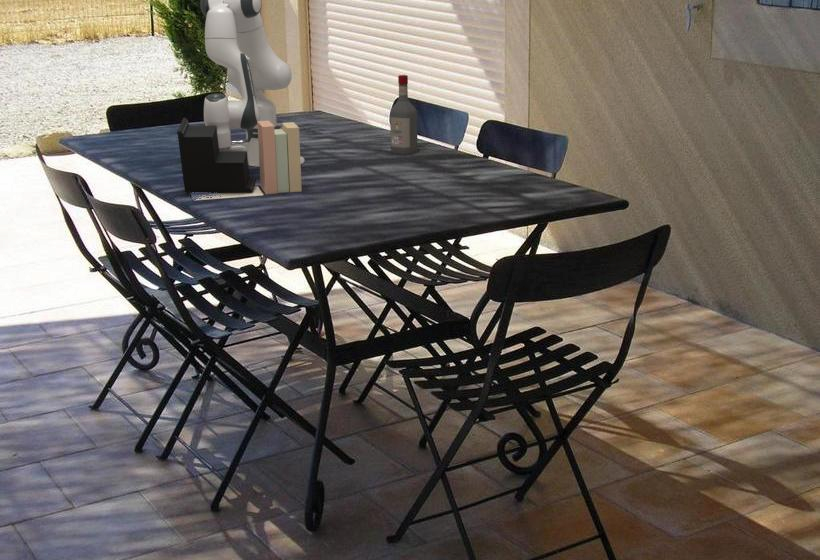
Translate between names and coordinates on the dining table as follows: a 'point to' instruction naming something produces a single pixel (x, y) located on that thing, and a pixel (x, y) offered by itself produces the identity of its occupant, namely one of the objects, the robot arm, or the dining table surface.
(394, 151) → the liquor
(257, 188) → the cream mat
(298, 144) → the book row
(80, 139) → the dining table surface
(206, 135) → the black drawer cabinet
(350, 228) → the dining table surface
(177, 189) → the dining table surface
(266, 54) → the robot arm
